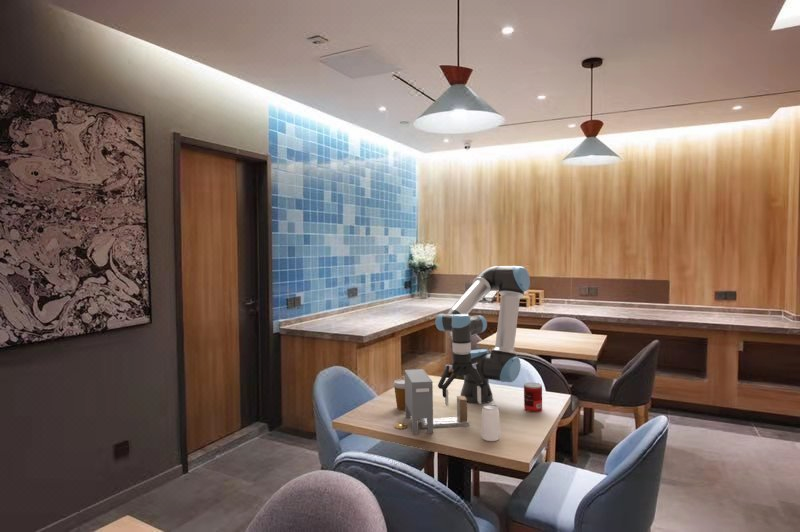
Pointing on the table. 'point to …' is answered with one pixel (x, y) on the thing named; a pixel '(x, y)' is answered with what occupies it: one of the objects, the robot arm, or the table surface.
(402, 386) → the disposable coffee cup
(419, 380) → the gray cabinet
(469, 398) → the robot arm
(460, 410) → the steel scraper
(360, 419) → the table surface
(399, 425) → the brass token
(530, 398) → the canned food
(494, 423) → the can
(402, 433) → the table surface
